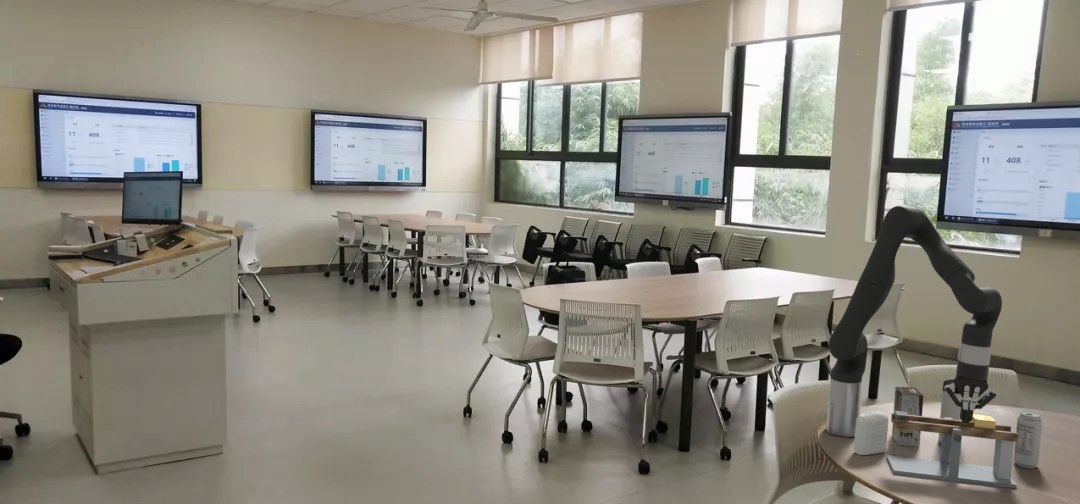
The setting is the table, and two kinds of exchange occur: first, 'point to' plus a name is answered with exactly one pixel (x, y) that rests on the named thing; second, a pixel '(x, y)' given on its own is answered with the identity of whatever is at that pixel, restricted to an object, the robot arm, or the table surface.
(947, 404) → the travel mug
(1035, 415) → the energy drink can
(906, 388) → the coffee box
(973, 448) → the table surface
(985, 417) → the gold metal cube
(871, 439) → the photo printer
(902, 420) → the beam
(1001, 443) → the stand
